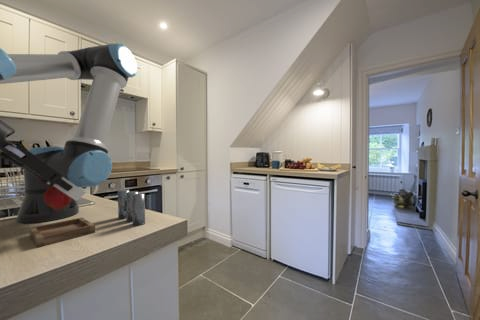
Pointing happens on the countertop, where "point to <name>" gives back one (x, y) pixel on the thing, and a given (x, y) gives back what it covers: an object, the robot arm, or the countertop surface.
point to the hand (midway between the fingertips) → (77, 195)
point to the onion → (56, 198)
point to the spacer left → (122, 204)
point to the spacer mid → (130, 205)
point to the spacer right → (138, 209)
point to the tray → (61, 231)
